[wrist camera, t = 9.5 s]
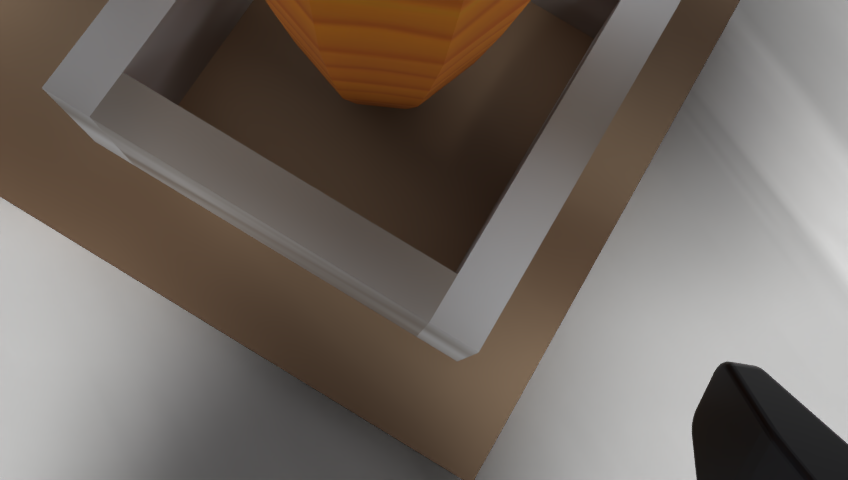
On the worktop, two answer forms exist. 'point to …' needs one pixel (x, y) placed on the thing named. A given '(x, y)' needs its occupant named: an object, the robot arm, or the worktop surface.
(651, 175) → the worktop surface
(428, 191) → the holder
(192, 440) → the worktop surface
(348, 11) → the carrot
